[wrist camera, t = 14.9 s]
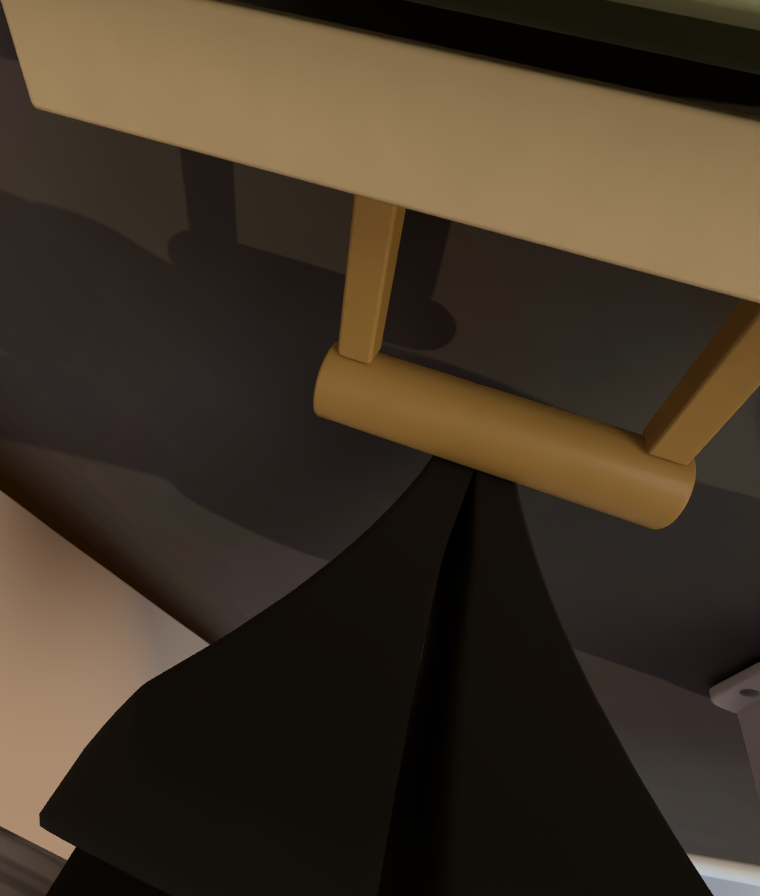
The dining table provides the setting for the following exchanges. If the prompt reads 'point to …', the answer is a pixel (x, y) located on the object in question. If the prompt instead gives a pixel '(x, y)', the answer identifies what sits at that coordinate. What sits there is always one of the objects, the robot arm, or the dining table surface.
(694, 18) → the cabinet
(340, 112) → the drawer
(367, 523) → the dining table surface
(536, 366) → the dining table surface
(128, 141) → the dining table surface
